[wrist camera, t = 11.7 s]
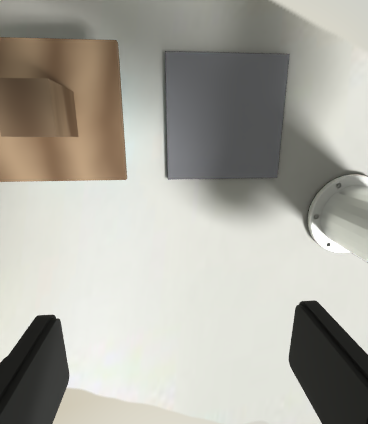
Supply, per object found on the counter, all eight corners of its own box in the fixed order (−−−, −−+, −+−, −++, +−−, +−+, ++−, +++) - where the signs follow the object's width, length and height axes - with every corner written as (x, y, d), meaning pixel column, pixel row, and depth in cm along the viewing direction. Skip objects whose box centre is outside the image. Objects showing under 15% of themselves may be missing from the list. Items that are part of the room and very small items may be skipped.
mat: (287, 55, 33) (289, 53, 33) (275, 177, 38) (277, 177, 37) (165, 52, 32) (165, 51, 31) (167, 178, 37) (168, 179, 36)
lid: (118, 43, 26) (102, 11, 20) (127, 178, 30) (116, 189, 23) (-25, 40, 25) (-93, 4, 18) (3, 180, 29) (-45, 192, 22)
